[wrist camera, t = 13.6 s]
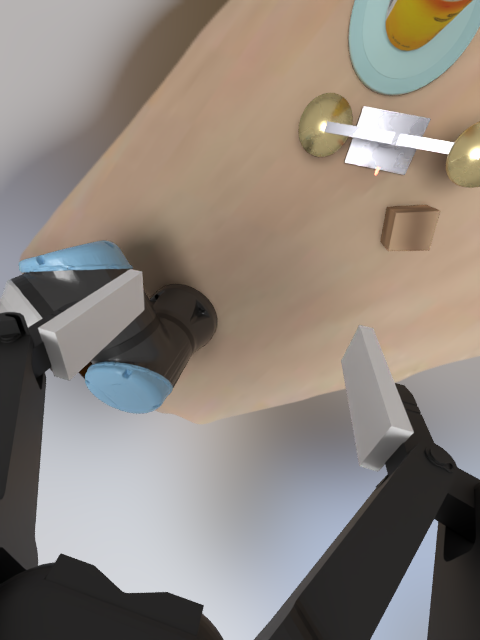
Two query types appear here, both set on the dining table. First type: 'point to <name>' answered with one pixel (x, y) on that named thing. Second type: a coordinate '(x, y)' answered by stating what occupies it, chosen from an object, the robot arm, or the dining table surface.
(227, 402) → the dining table surface
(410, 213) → the walnut block
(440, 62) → the dish
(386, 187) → the dining table surface
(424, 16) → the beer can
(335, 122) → the balance
